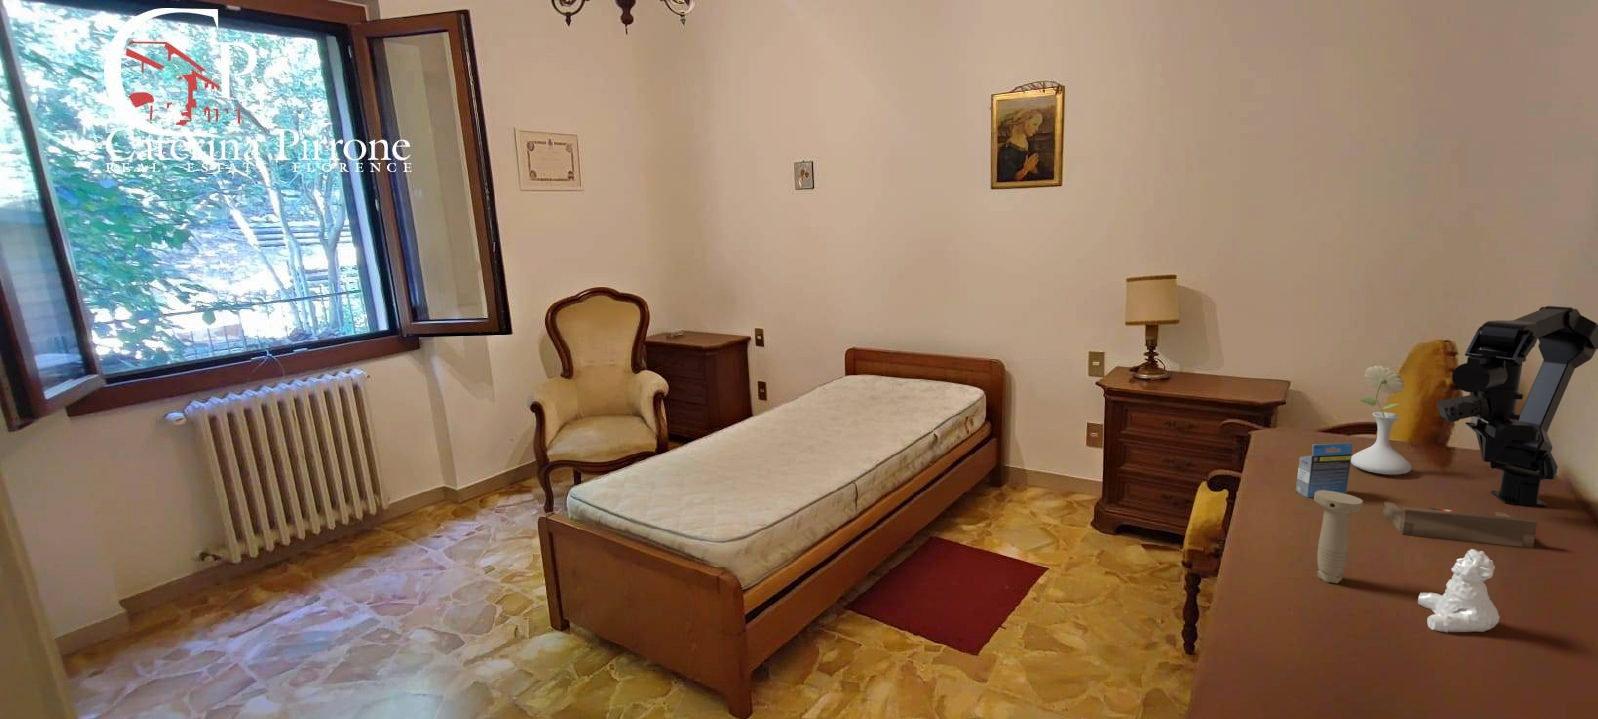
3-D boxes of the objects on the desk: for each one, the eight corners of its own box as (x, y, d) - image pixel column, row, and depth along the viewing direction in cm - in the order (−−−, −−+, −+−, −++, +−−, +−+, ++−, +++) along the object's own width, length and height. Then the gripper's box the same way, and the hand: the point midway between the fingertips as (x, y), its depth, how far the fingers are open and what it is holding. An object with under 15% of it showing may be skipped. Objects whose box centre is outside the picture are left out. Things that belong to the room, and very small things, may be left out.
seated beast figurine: (1414, 600, 113) (1423, 531, 111) (1486, 613, 109) (1497, 541, 107) (1428, 630, 105) (1439, 556, 103) (1507, 645, 101) (1520, 568, 99)
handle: (1346, 591, 117) (1356, 506, 114) (1302, 577, 122) (1310, 495, 119) (1357, 582, 119) (1366, 498, 117) (1312, 568, 125) (1321, 488, 122)
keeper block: (1382, 513, 145) (1385, 490, 144) (1503, 524, 138) (1506, 500, 137) (1402, 534, 135) (1405, 510, 135) (1533, 547, 128) (1537, 522, 127)
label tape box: (1333, 489, 158) (1338, 437, 156) (1347, 496, 154) (1353, 442, 152) (1294, 491, 158) (1299, 439, 155) (1308, 498, 154) (1313, 444, 151)
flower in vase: (1424, 478, 162) (1437, 372, 157) (1373, 479, 162) (1386, 374, 158) (1378, 459, 175) (1390, 361, 170) (1332, 461, 175) (1342, 363, 170)
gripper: (1426, 374, 150) (1417, 444, 153) (1467, 394, 133) (1456, 473, 136) (1494, 376, 145) (1483, 448, 148) (1546, 398, 128) (1533, 479, 131)
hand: (1486, 461), depth 141 cm, fingers closed
